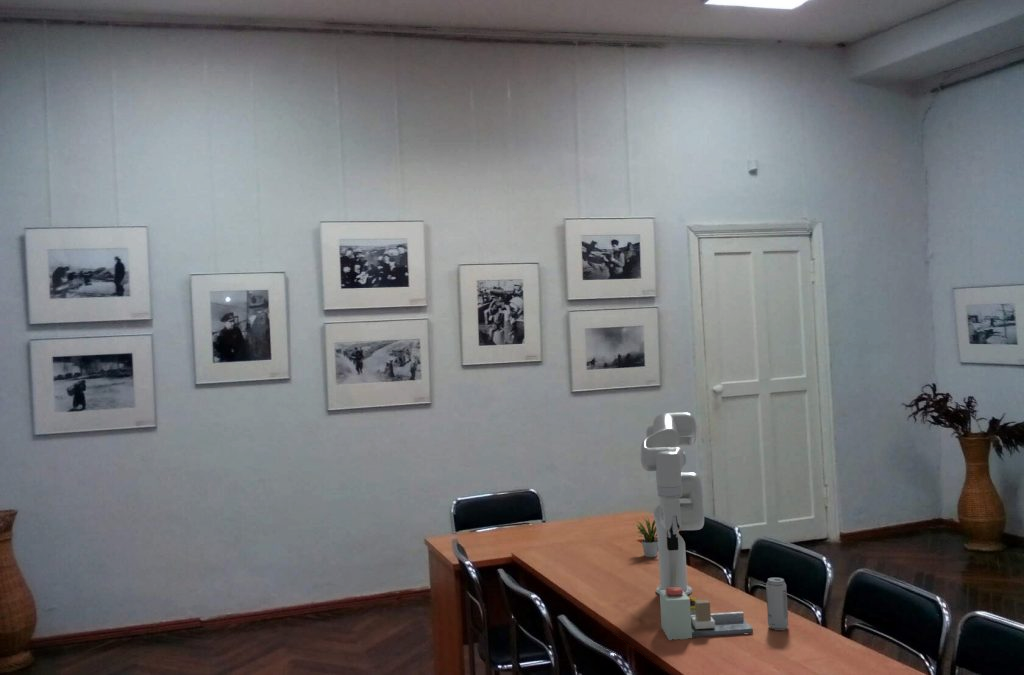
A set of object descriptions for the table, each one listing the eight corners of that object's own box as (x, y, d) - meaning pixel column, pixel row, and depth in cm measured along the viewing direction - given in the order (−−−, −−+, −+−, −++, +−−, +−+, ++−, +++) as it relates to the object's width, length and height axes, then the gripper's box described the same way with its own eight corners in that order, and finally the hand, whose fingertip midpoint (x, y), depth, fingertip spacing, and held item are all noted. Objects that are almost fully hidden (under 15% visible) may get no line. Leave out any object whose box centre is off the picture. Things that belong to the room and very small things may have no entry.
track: (684, 627, 273) (683, 615, 273) (744, 623, 274) (743, 611, 274) (691, 637, 264) (690, 624, 264) (753, 633, 265) (752, 620, 265)
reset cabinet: (661, 628, 274) (659, 590, 274) (683, 626, 274) (681, 588, 274) (669, 640, 263) (666, 600, 263) (691, 638, 263) (689, 599, 263)
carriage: (691, 623, 271) (690, 599, 271) (711, 622, 271) (709, 598, 271) (695, 629, 266) (694, 604, 266) (715, 627, 266) (714, 603, 266)
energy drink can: (769, 624, 272) (766, 576, 272) (789, 625, 270) (786, 577, 270) (767, 630, 267) (764, 581, 267) (787, 632, 265) (785, 582, 265)
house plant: (669, 550, 369) (667, 512, 369) (672, 559, 355) (670, 519, 355) (635, 551, 370) (633, 513, 370) (637, 559, 357) (635, 520, 357)
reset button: (665, 606, 271) (664, 587, 271) (681, 605, 271) (680, 586, 271) (668, 611, 266) (667, 592, 266) (685, 610, 266) (684, 591, 266)
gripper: (653, 487, 278) (656, 544, 278) (662, 496, 263) (665, 556, 263) (676, 485, 278) (679, 542, 279) (687, 495, 263) (690, 555, 264)
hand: (672, 549), depth 271 cm, fingers closed
